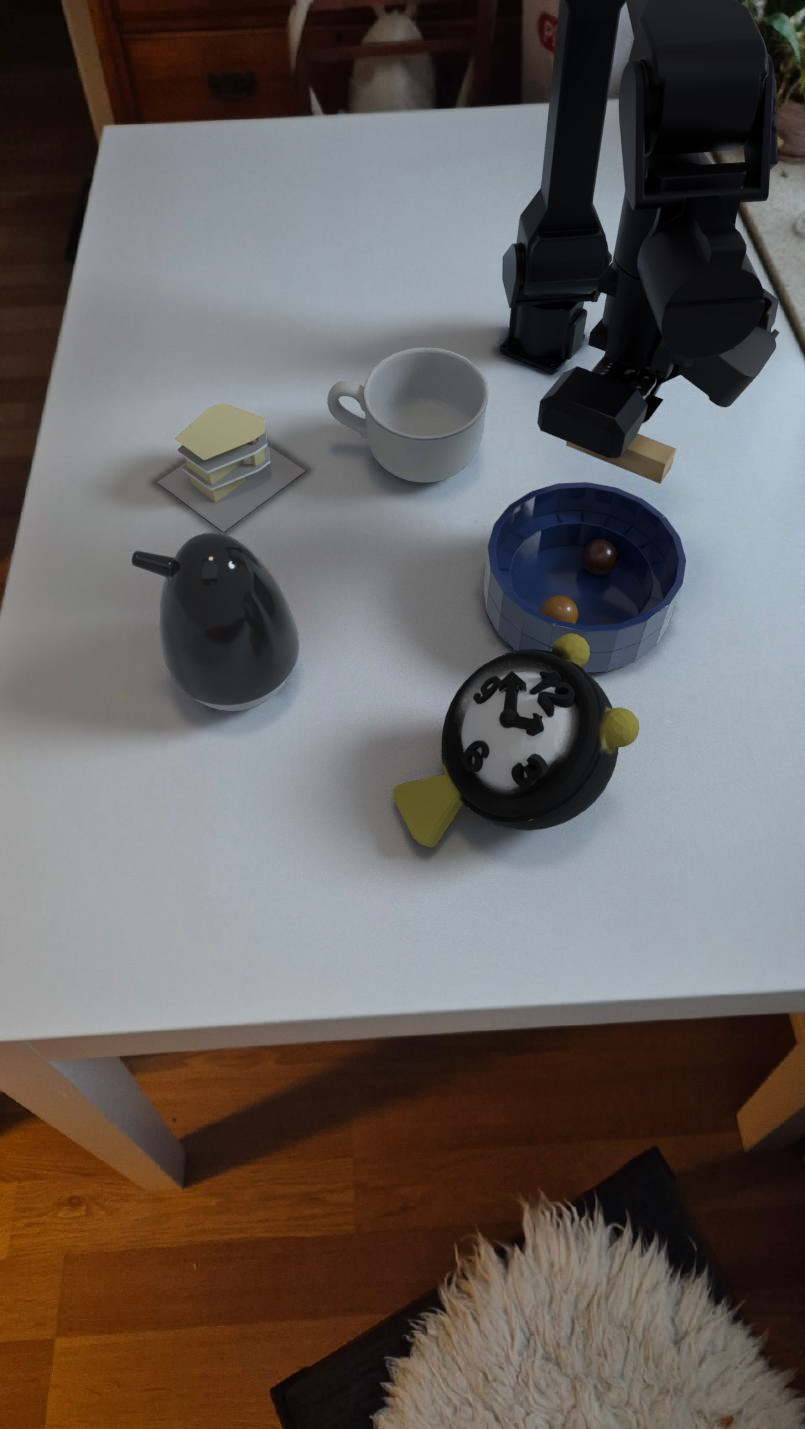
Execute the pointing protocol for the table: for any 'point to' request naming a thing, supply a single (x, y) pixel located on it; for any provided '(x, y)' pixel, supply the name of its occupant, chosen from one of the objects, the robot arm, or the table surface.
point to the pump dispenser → (223, 622)
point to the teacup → (418, 412)
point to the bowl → (583, 572)
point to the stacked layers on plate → (228, 466)
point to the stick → (641, 458)
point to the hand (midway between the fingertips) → (618, 446)
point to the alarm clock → (522, 745)
